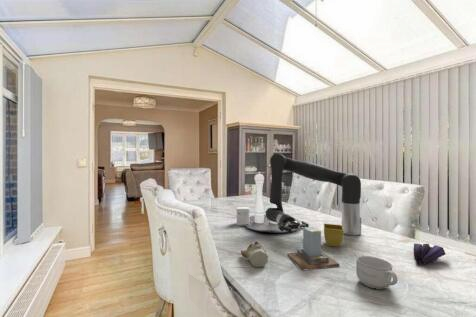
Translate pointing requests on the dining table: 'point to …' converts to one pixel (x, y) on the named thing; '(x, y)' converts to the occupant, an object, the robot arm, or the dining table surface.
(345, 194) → the robot arm
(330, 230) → the flower pot
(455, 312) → the dining table surface
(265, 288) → the dining table surface
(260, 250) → the ceramic sculpture
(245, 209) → the small box
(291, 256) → the keyed seat
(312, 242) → the keyed plug
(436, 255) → the crystal
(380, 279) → the teacup
